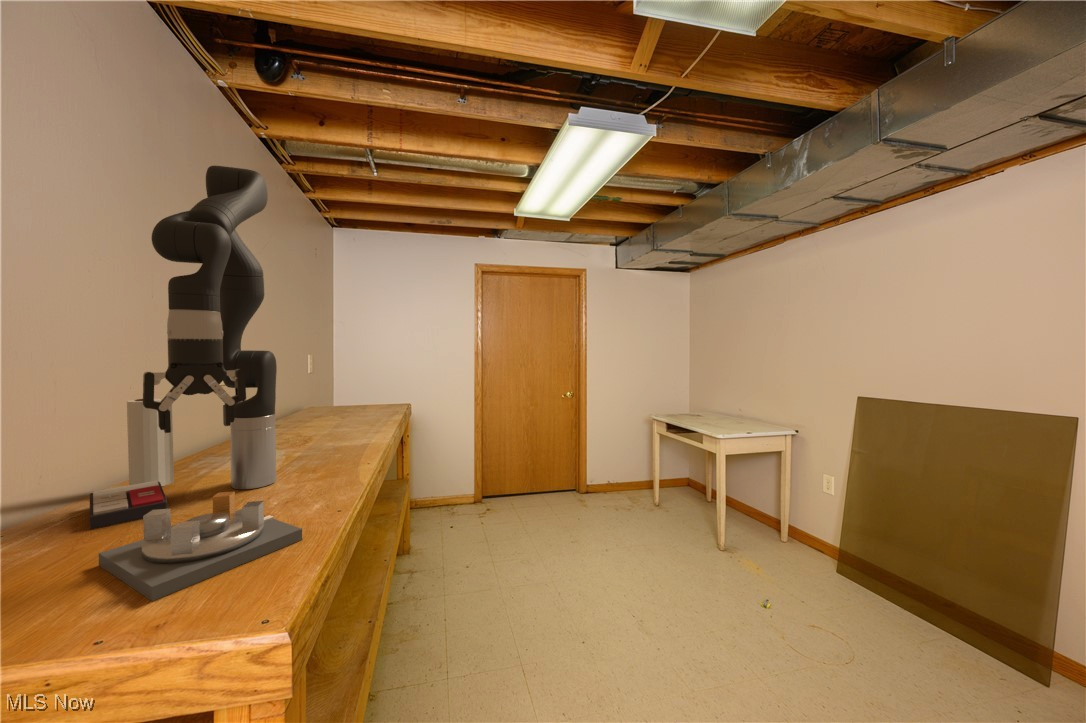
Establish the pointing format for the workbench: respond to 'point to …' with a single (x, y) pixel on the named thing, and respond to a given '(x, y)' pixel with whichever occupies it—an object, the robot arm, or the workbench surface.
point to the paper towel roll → (148, 446)
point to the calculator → (125, 503)
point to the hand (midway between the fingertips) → (198, 428)
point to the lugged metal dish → (201, 531)
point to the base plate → (175, 576)
